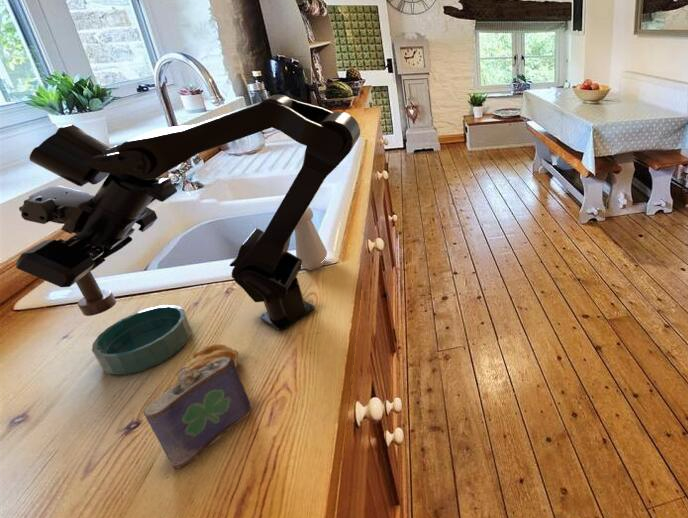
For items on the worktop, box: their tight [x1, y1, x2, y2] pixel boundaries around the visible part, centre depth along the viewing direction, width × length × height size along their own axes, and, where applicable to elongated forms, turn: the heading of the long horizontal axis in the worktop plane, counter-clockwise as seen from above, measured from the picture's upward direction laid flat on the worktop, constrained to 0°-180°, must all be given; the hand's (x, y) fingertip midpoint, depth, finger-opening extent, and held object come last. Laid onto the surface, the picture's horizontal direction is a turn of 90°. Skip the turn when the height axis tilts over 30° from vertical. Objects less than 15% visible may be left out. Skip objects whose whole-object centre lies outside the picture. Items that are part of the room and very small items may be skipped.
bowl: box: [91, 304, 193, 375], centre depth 64 cm, size 11×11×4 cm
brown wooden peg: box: [75, 271, 117, 317], centre depth 64 cm, size 4×4×10 cm
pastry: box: [183, 343, 239, 371], centre depth 57 cm, size 9×7×4 cm
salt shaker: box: [294, 206, 328, 271], centre depth 83 cm, size 6×6×13 cm
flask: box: [143, 357, 253, 469], centre depth 49 cm, size 9×3×11 cm, turn 151°
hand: (71, 274), depth 63 cm, fingers closed on brown wooden peg, 2 cm apart
